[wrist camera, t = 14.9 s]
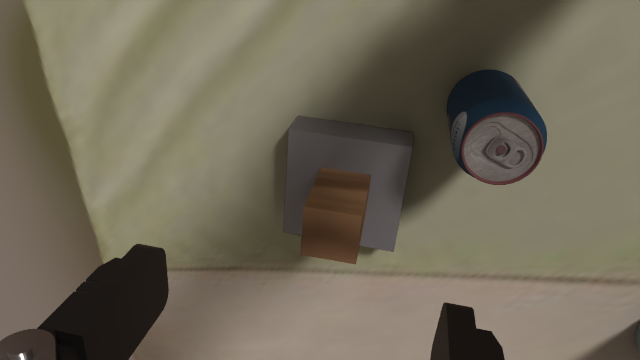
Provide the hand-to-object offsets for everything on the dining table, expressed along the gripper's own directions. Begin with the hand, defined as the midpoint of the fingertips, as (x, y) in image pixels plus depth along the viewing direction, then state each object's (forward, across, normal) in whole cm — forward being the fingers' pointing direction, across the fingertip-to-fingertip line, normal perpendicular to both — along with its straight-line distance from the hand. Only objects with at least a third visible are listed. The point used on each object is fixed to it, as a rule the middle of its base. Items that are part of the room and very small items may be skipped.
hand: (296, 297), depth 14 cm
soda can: (+36, -10, +4) cm, 38 cm away
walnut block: (+32, +2, +14) cm, 35 cm away
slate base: (+36, +2, +14) cm, 39 cm away
